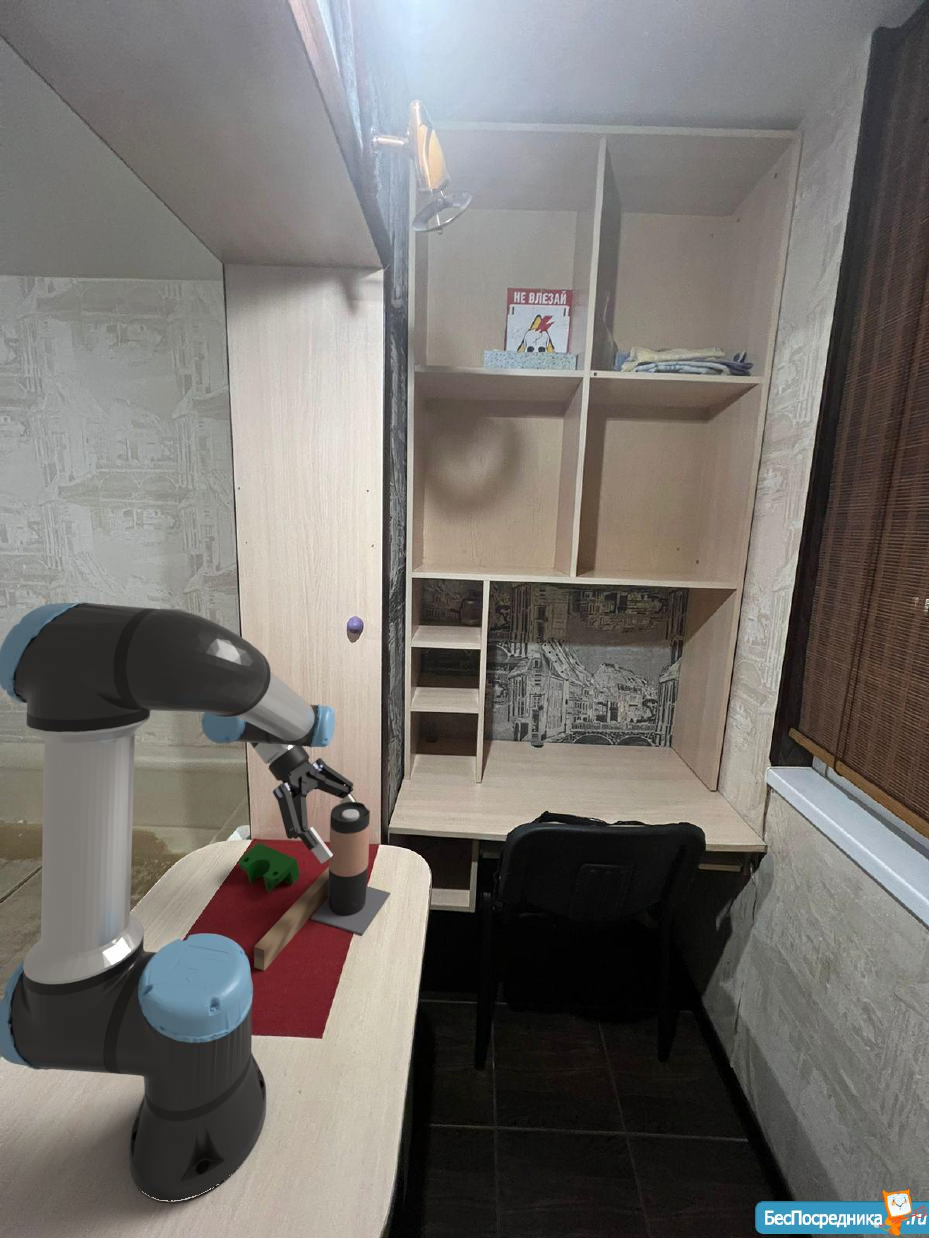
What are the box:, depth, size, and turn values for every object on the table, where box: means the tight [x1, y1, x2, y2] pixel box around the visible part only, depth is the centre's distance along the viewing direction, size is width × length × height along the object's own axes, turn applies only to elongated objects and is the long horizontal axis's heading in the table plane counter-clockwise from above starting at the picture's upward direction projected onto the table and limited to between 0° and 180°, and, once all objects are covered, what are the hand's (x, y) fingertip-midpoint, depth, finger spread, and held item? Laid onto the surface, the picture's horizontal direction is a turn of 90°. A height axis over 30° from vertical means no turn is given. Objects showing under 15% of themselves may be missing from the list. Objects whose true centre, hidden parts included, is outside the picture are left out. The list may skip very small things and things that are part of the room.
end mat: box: [310, 885, 391, 936], centre depth 104 cm, size 12×11×1 cm
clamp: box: [238, 842, 301, 893], centre depth 110 cm, size 12×6×9 cm, turn 57°
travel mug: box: [328, 801, 371, 916], centre depth 103 cm, size 8×8×20 cm
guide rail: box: [253, 866, 329, 972], centre depth 100 cm, size 25×2×4 cm, turn 163°
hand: (346, 840), depth 104 cm, fingers open, 13 cm apart
